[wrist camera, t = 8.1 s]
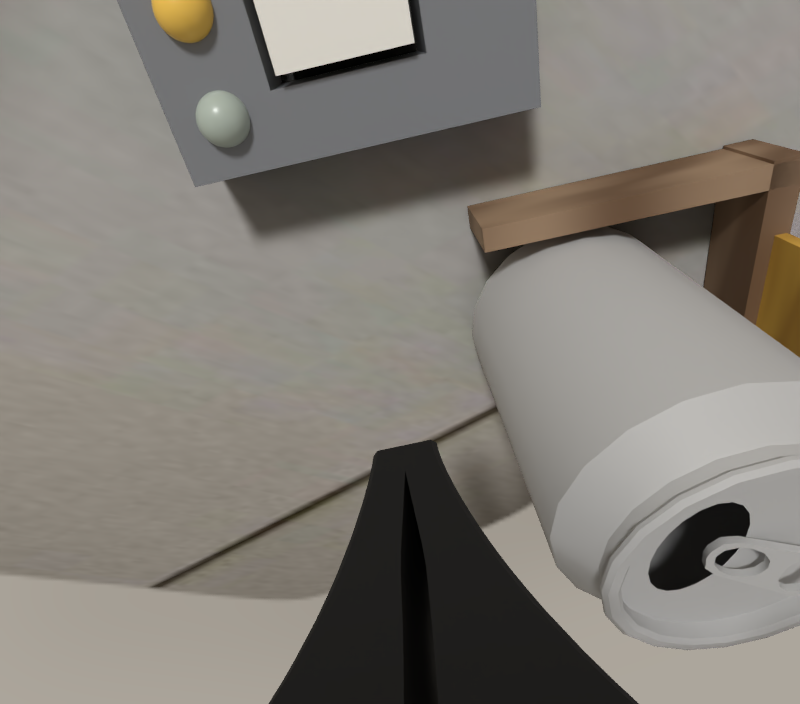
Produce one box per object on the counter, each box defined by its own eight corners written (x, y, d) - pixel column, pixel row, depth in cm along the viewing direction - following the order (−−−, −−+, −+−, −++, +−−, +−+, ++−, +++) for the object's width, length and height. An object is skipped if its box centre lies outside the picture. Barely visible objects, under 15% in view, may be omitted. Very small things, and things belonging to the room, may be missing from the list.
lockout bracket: (753, 139, 17) (898, 177, 13) (719, 334, 21) (819, 416, 17) (467, 203, 18) (505, 262, 13) (490, 382, 22) (526, 474, 17)
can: (494, 203, 18) (675, 424, 8) (684, 231, 19) (1064, 457, 9) (450, 375, 22) (531, 673, 12) (609, 390, 23) (812, 674, 13)
